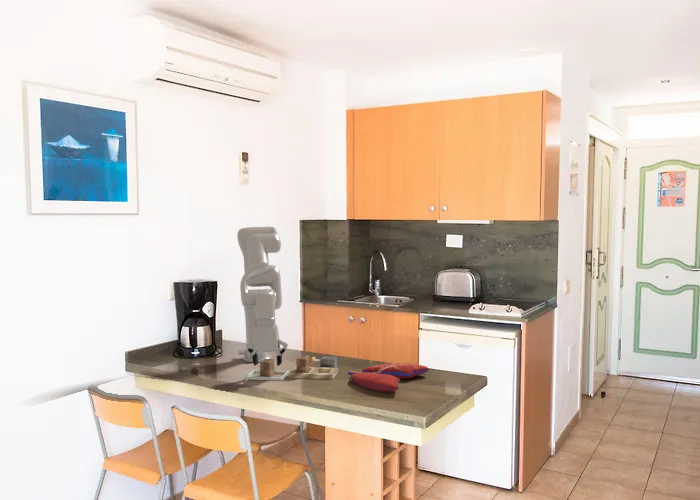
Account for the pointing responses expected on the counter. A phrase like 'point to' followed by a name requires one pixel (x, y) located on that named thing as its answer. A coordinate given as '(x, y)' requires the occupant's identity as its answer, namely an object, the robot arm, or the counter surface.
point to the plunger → (315, 361)
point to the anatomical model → (386, 375)
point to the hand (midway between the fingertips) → (267, 364)
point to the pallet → (315, 373)
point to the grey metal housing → (328, 362)
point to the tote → (250, 376)
